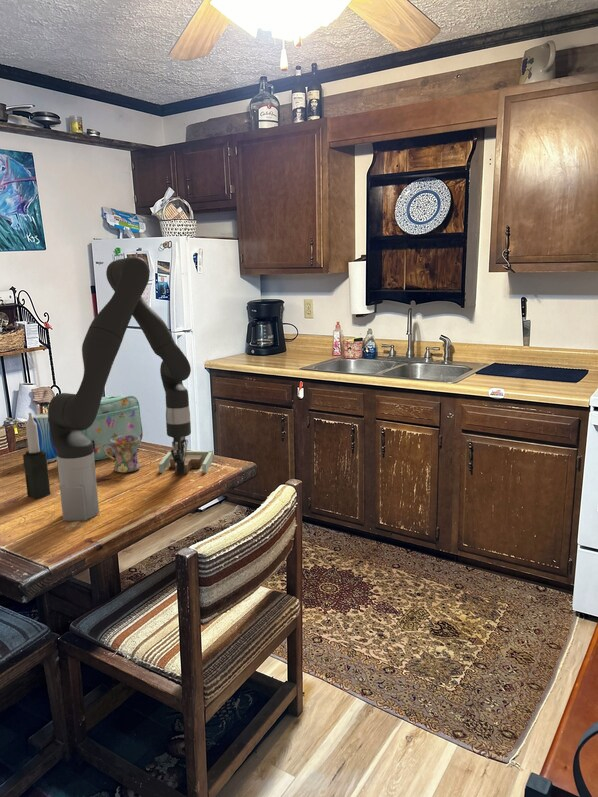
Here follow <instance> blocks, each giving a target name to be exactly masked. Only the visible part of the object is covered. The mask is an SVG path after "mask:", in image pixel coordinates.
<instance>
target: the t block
mask: <svg viewBox="0 0 598 797" xmlns="http://www.w3.org/2000/svg"><path fill="white" fill-rule="evenodd" d="M184 463H185V472H184V473H177V462H174V459H173V456H172V457H171V459H170V464H169V467H170V469H174V473H175V475H187V474H189V472H190V471H191V469H197V468H198V469H201V467H202V463H203V460H202V455H186V457H185V461H184Z"/></svg>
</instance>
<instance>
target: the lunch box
mask: <svg viewBox="0 0 598 797" xmlns="http://www.w3.org/2000/svg"><path fill="white" fill-rule="evenodd" d="M82 433H83V434H84V435H85V436H86V437H87V438H88V439H90V440H91V441H92V443H93V449H94V461H100V460H101V461H102V460H104V459H107V458H109V457H108V456H107V455H106V454H105V453H104V452H103V449H102V447H103V445H104V444H111V442H110V440H111V439H112V438H115V437H118V436H125V435H133V436H138V437H139V438H140V439H139V442H138V446H139V445H140V444H141V442H142V440H143V435H144V434H143V433H144V432H143V426H142V419H141V410H140V403H139V400H138V399H137V397H136V396H134V395H121V394H115V395H108V396H102V399H101V403H100V406H99V410H98V413H97V416H96V418H95V421H94V422H93V424H92V425H91V426H90V427H89V428H88V429H86V430H82ZM111 445H112V444H111ZM104 450H105V452H106V453H107V454H108V455H109V456H111V457H113V456H115V451H114V450H113V448H112V447H111V446H110V445H105V446H104Z"/></svg>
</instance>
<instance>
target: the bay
mask: <svg viewBox="0 0 598 797" xmlns="http://www.w3.org/2000/svg"><path fill="white" fill-rule="evenodd" d="M186 455H202V466H201V467H202V468H201V469H202V474H206V473H207V472H208V470H209V468H210V467H211V465H212V463H213V460H214V450H187V453H186ZM171 457H172V453H171V450H168V451H167V453H166V454H165V456H164V457H163V458H162V459H161V460H160V462H159V463H158V473H159V474H163V473H164V472H165V471H166V469H167V468H168V467H169V466H170V459H171Z"/></svg>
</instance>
